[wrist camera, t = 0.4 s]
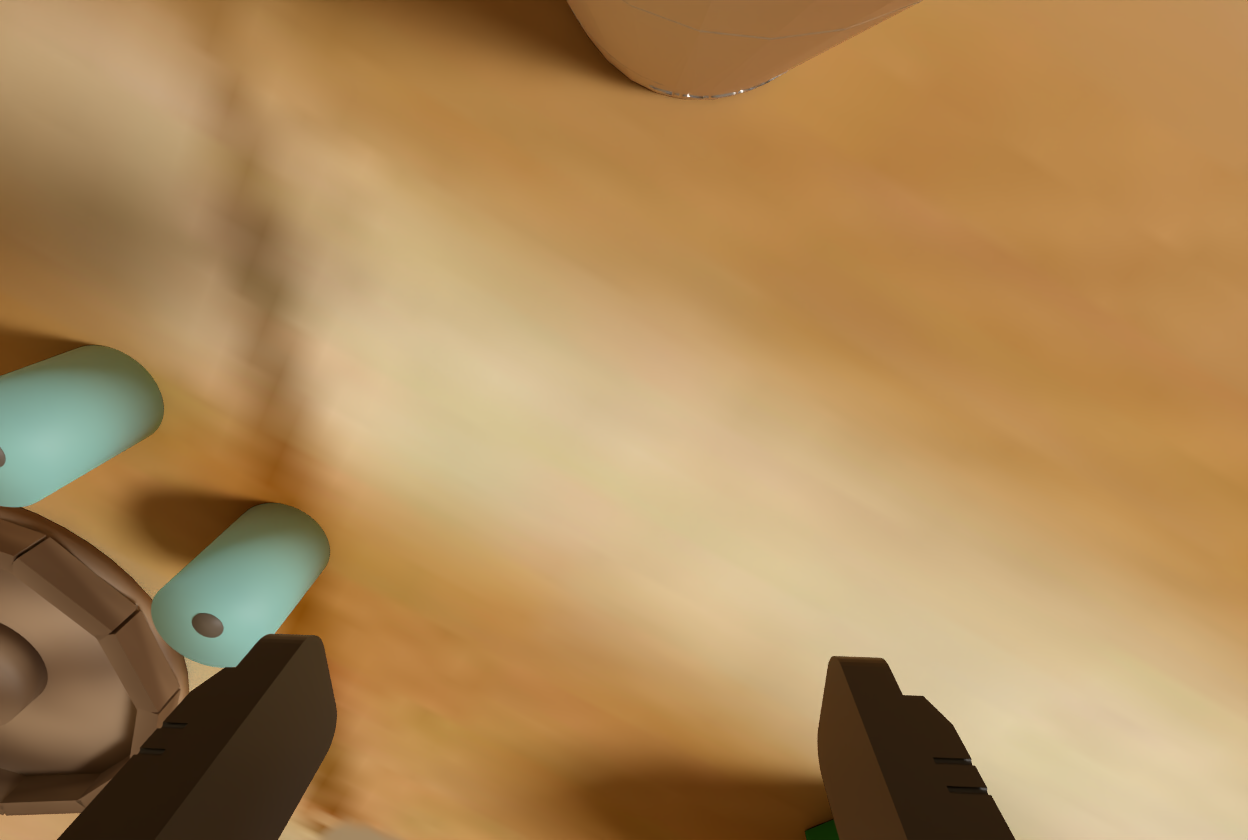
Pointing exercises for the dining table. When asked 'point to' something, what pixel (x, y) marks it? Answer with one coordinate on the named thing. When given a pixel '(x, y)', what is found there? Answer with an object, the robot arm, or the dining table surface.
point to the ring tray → (73, 668)
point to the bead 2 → (241, 585)
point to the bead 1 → (71, 419)
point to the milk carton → (823, 832)
